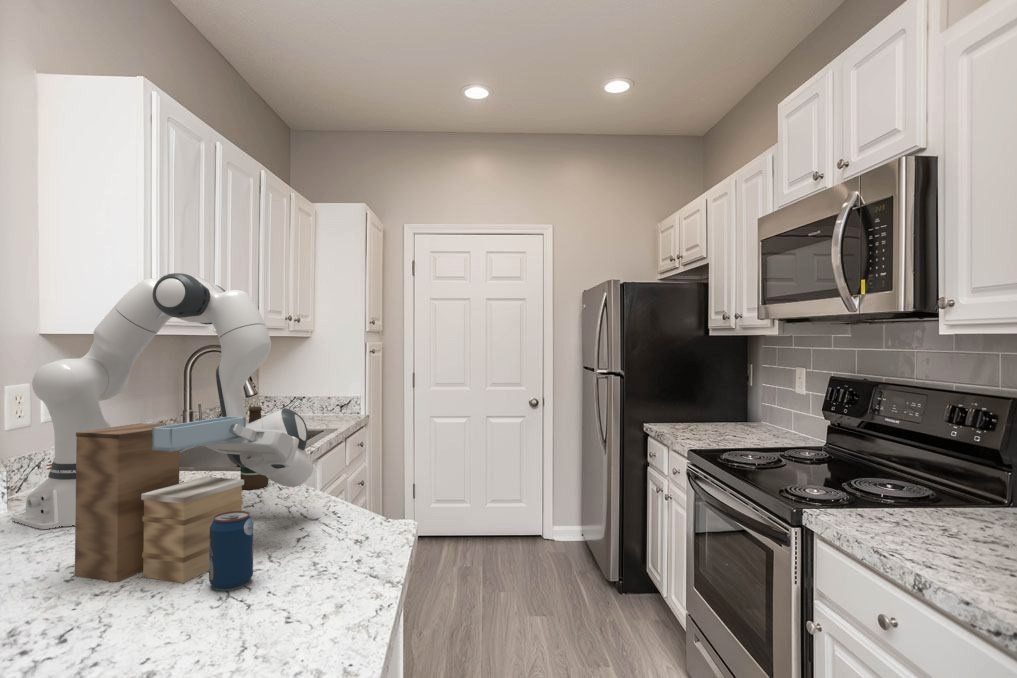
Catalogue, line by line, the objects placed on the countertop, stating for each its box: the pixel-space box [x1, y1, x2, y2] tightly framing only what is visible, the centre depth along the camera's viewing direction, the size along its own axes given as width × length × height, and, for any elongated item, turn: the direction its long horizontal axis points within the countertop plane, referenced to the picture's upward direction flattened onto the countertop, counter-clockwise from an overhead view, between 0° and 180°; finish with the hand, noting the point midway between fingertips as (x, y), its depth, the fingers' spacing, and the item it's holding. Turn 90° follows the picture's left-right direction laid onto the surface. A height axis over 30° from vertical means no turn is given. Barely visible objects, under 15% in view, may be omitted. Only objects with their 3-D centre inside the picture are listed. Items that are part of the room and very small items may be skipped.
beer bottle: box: [240, 405, 270, 491], centre depth 171 cm, size 8×8×24 cm
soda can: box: [208, 510, 254, 592], centre depth 100 cm, size 7×7×12 cm
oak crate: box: [141, 476, 244, 584], centre depth 109 cm, size 10×15×15 cm, turn 164°
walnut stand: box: [74, 422, 181, 583], centre depth 109 cm, size 10×13×26 cm
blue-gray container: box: [152, 416, 247, 452], centre depth 110 cm, size 4×18×4 cm, turn 163°
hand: (221, 426), depth 115 cm, fingers closed on blue-gray container, 4 cm apart
